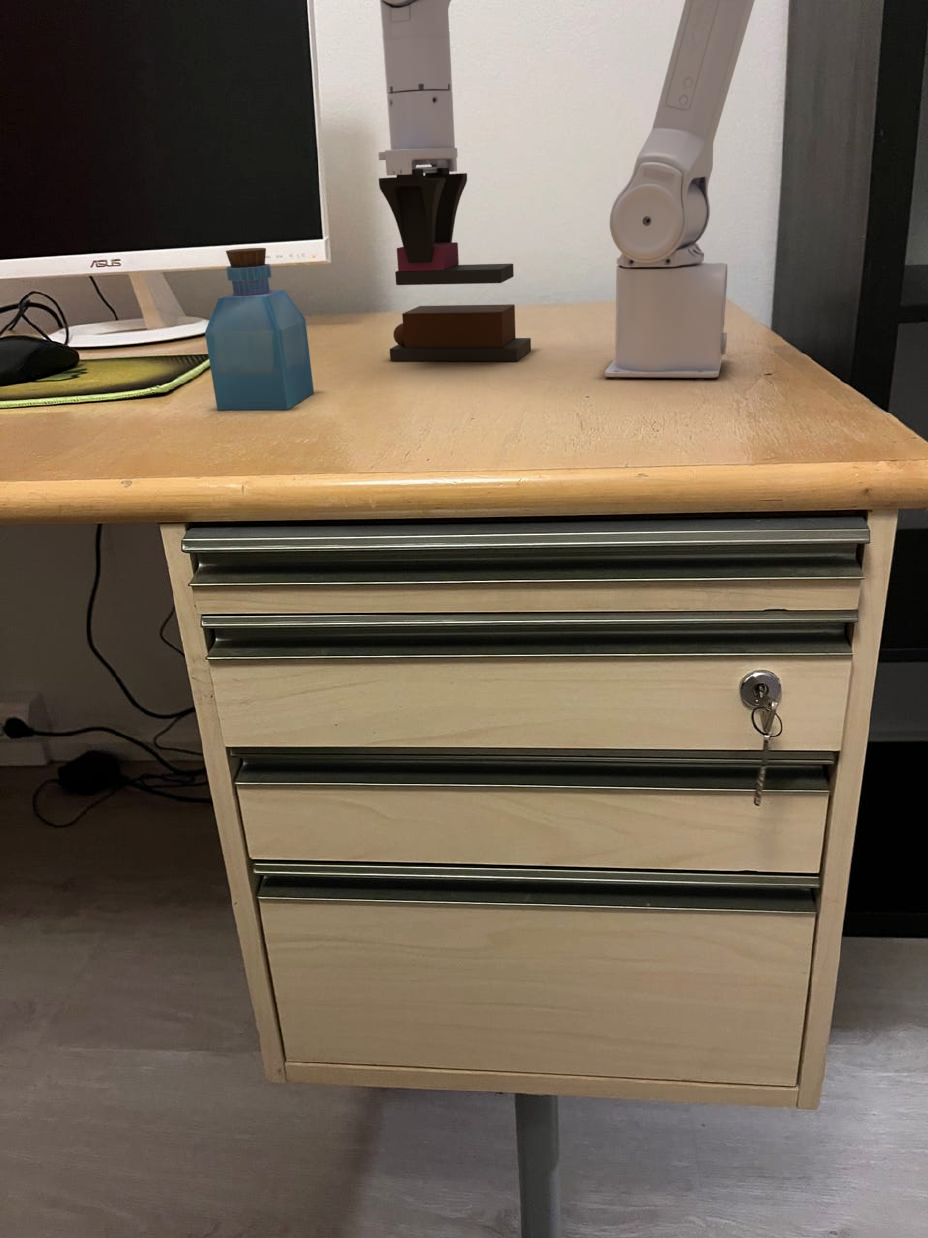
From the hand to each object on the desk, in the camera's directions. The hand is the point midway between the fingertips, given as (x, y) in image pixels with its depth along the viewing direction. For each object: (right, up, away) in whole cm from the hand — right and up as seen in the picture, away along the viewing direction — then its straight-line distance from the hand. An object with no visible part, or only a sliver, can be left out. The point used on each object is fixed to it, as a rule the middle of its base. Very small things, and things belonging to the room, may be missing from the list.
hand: (429, 259), depth 89 cm
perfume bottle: (-13, -15, -8) cm, 22 cm away
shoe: (+3, -7, +7) cm, 10 cm away
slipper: (+2, -2, 0) cm, 3 cm away
